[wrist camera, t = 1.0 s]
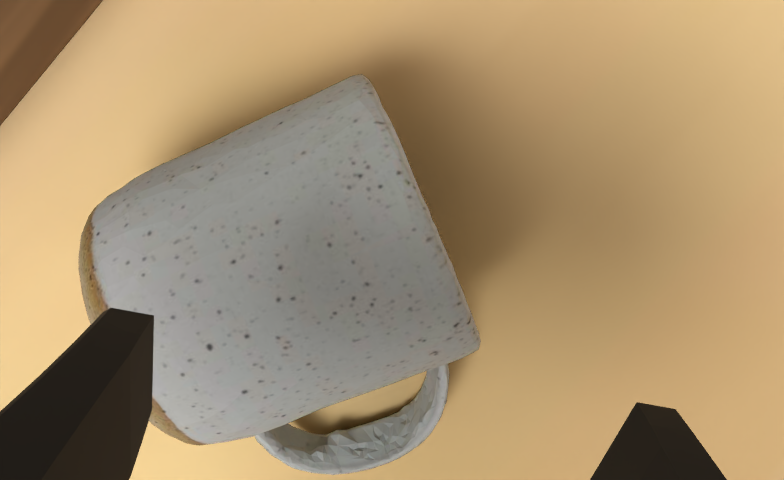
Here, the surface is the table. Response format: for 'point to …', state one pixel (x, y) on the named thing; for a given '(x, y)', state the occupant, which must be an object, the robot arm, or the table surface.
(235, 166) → the ceramic mug
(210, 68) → the table surface
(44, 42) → the walnut board
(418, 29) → the table surface
